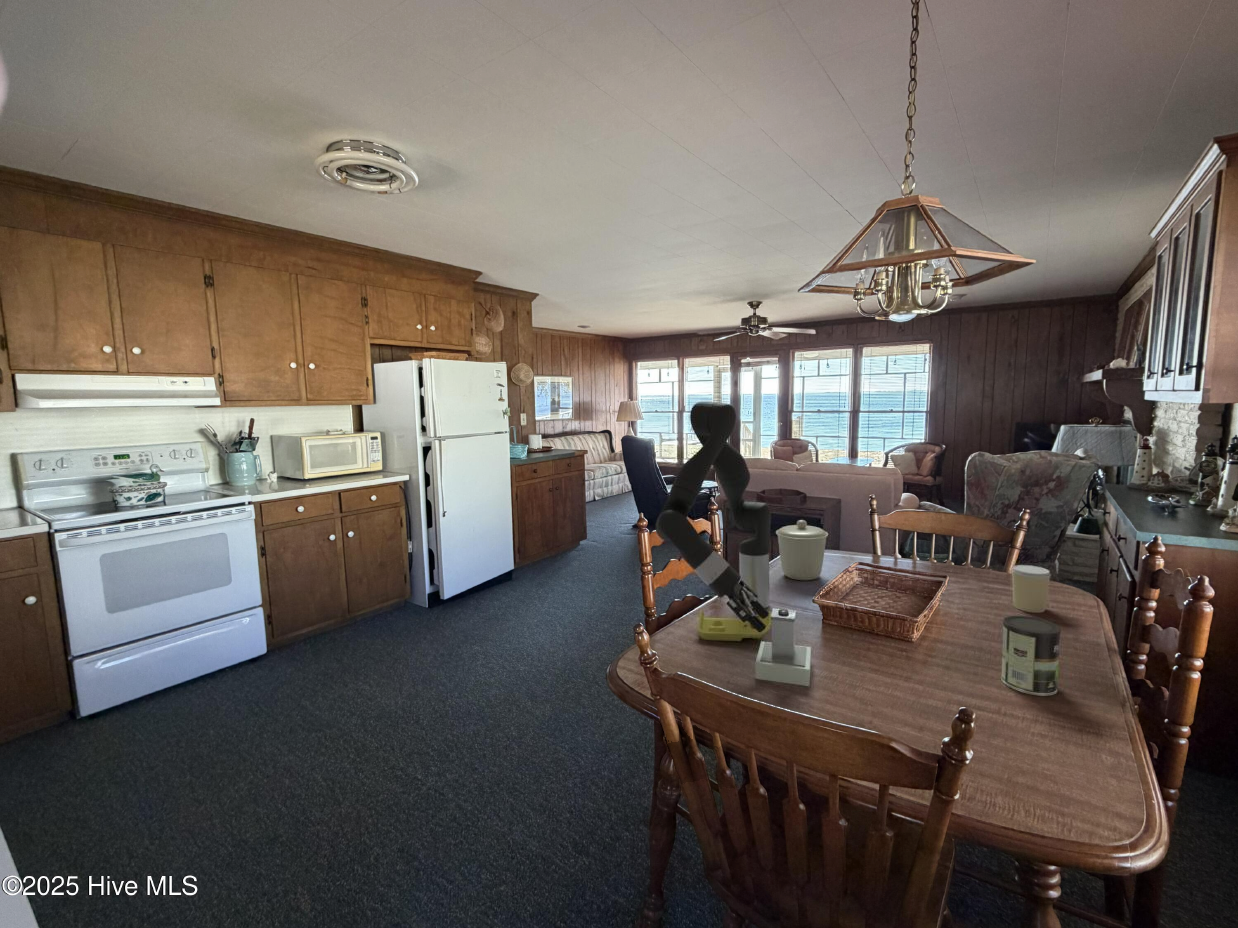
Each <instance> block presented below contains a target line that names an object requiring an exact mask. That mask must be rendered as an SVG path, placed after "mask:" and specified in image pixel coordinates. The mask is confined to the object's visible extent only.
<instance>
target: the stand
mask: <svg viewBox="0 0 1238 928" xmlns="http://www.w3.org/2000/svg"><path fill="white" fill-rule="evenodd" d="M811 664H812V647H811V646H804V645H796V644H795V654H794V659H787V658H779V657H772V641H771V642H770V641H762V640H761V641H760V645H759V648H758V652H757V656H756V660H755V679H756V680H762V681H769V682H777V683H782V684H790V685H797V686H804V687H805V686H806V687H810V685H811V684H810V681H811Z"/></svg>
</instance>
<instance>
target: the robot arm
mask: <svg viewBox="0 0 1238 928" xmlns="http://www.w3.org/2000/svg"><path fill="white" fill-rule="evenodd" d="M689 413H690V414H689V418H690V419H689V420H690V425H691V428H692V430H693V432H694V434H695V437H696V438H697V439H698V441H699V443H700V444H701V446H702V447H700V449H699V450H698V451H696V453H695V454H693V455H692V456H691V457H690V458H689V459H688V460H687V461H686V462H685V463H684V464H683V465H682V466H681V468H680V469H679V470H678V472H677V473H676V476H675V478H674V481H673V483H672V486H671V488H670V490H669V494H668V497H667V499H666V502H665V504H664V505H663V507H662V510H661V512H660V513H659V516H658V517H657V520H656V522H655V532H656V534H657V536H658V537H659V538H660V539H661V540H663V541H667V542H671V543H672V545H674V546H675V547H676V549H678V551H679V553H680V556H681V557H682V559H683V560H684V561H685V562H686V563H687V564H688V565H689V566H690V567H691V569H693V571H694V572H695V573H696V574H697V576H698V577H699V578H700V579H701V580H702V581H703V582H704V583H705V584H706V586H707V587H708V588H709V589H710V590H711V591H712V592H713V593H714V594H715V595H716V596H717V597H718V598H723V597H724V596H726V597H727V599H728V601H727V602H726V605H727V606H728V607H729V609H731V611H732V612H733V613H734V614H735V615H736V616H737V618H738V619H741V620H742V621H743V622H744V623H745V622H746V621H747V622H749V623H750V624H751V625H752V626H753V627H754V628H755V629H756V630H757V631H758V632H762V631H763V630H764V629H765V628H766V625H765V624H764V623H763V622H762V621H761V620H760V619H759V618H758V617H757V616H756V615H759V616H760V617H761V618H762V619H765V618H766V617H767V616H768V615H769V612H768V611H769V610H768V609H767V608H768V607H770V544H771V543H770V542H771V522H772V511H771V507H770V505H769V504H768V503H766V502H759V501H758V502H757V501H748V500H747V501H746V500H745V499H744V497H743V495H744V493H745V491H746V489H747V488H748V486H749V484H750V480H751V473H750V470H749V467H748V464H747V462H746V460H745V457H743V455H742V454H741V453H740V452H739V450H737V449H736V448H735V447H734V446H733V445H732V444H730V443H729V442H728V440H729V438H730V437H731V434H732V433H733V431H734V428H735V425H736V421H737V414H736V413H737V412H736V410H735V407H734V406H733V405H732V404H730V403H727V402H718V401H698V402H696V403H694V404H693V406H691V409H690V412H689ZM712 467H713V470H714V474H715V475H716V478H717V479H718V482H719V484H720V486H721V488H722V491H723V493H724V495H725V497H726V501H727V502H728V506H729V509H730V513H731V517H732V520H733V523H734V525H735V527H736V528H738V530H741V531H746V532H747V531H748V532H755V537H753V538H751V539H746V540H742V541H741V542H740V543H739V546H738V547H739V549H738V551H739V553H738V554H739V555H738V556H739V558H738V559H739V572H737V570H736V569H735V568H733V566H731V564H730V563H728V561H726V559H724V557H722V555H721V554H719V553H718V552H717V551H716V550H714V549H713V547H712V546H711V545H710V544H709V543H707V541H706V540H705V539H704V538H703V537H701V536H700V534H699V533H698V531H697V530H696V528H695V527H694V526H693V524H692V523H691V521H689V519H688V516H689V514H690V510H691V509H692V508H693V506H694V504H695V503H696V500H697V498H698V496H699V494H700V491H701V488H702V487H703V483H704V481H705V479H706V477H707V475H708V473H709V471H710V470H711V468H712ZM755 613H756V614H755Z"/></svg>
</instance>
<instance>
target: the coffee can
mask: <svg viewBox="0 0 1238 928" xmlns="http://www.w3.org/2000/svg"><path fill="white" fill-rule="evenodd" d="M1002 624H1003V631H1002V658H1001V677H1000V680H1001V682H1002V683H1003V684H1004V685H1006V686H1007V687H1009V688H1011V689H1013V690H1015V691H1017V692H1020V693H1023V694H1027V695H1032V696H1036V697H1037V696H1038V697H1050V696H1053V695H1056V694H1057V693H1058V680H1059V679H1058V676H1059V662H1060V661H1059V659H1060V658H1059V657H1060V642H1061V641H1060V639H1061V632H1062V629H1061V627H1060V626H1059V625H1058V624H1055V623H1054V622H1051V621H1049V620H1047V619H1043V618H1039V617H1034V616H1029V615H1028V616H1026V615H1010V616H1005V617H1004V618H1003V619H1002Z"/></svg>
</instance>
